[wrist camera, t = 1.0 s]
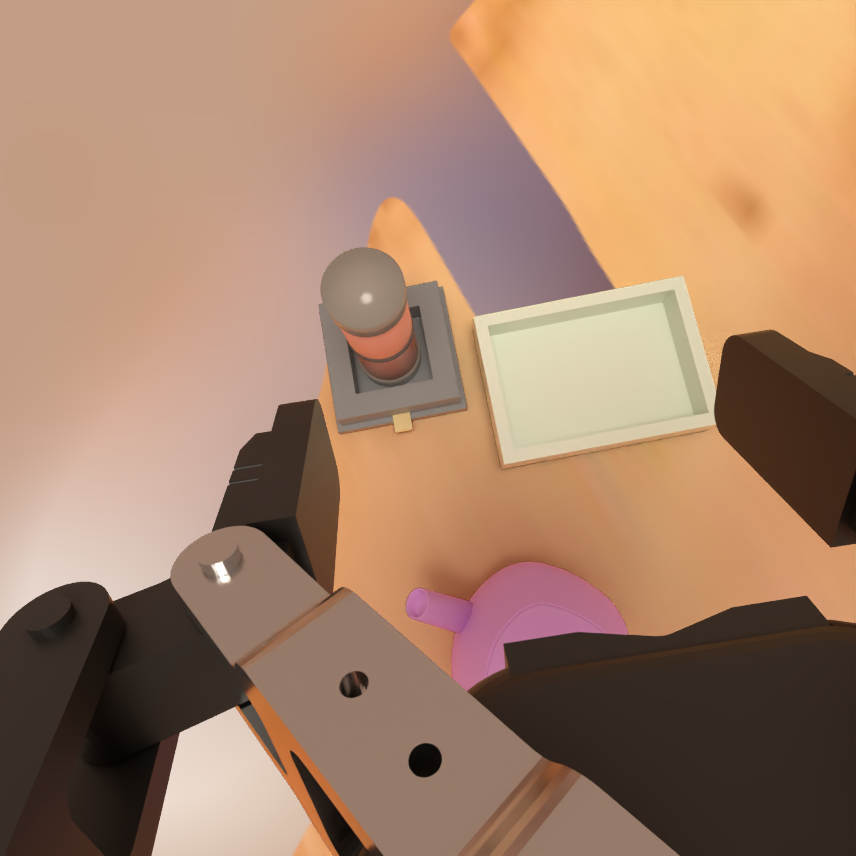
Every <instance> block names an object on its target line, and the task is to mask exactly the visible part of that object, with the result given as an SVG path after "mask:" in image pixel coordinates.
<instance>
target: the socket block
mask: <svg viewBox="0 0 856 856" xmlns="http://www.w3.org/2000/svg"><path fill="white" fill-rule="evenodd" d="M406 290H407V303H408V307H409V311H410V314H411V316H412V320H413V325H414V332H415V336H416V338H417V340H418V343H419V347H420V351H421V364H420V368H419V370H418V372H417V373H416V375H415V376H414V377H413V378H412V379H411V380H410V381H409V382H407V383H406V384H404V385H400V386H395V387H384V386H380V385H378V384H376V383H374V382H373V381H372V380H370V379H369V378H368V376H367V375H366V373H365V372H364V370H363V368H362V367H361V365H360V362H359V359H358V357H357V355H356V354H355V352H354V351H353V350H352V349H351V347H350V345H349V344H348V342H347V339H346V337H345V335H344V334H343V332H342V330H341V329H340V328H339V327H338V326H337V325H336V323H335V322H334V321H333V319H332V317H331V316H330V314H329V312H328V311H327V309H326V307H325V306H324V303H323V304H319V310H320V311H319V313H320V319H321V325H322V331H323V338H324V344H325V351H326V357H327V364H328V370H329V376H330V383H331V389H332V395H333V402H334V408H335V415H336V421H337V427H338V433H340V434H346V433H351V432H356V431H361V430H366V429H372V428H377V427H382V426H387V425H392V424H394V427H395V433H399V432H404V431H410V430H413V426H412V421H413V420H418V419H424V418H429V417H434V416H439V415H445V414H450V413H455V412H460V411H465V410H467V405H466V400H465V395H464V390H463V385H462V380H461V375H460V370H459V365H458V360H457V355H456V350H455V345H454V340H453V335H452V330H451V325H450V320H449V315H448V310H447V305H446V300H445V295H444V290H443V286H442V287H438V284H437V281H433V282H428V283H423V284H418V285H413V286H408V287H406Z"/></svg>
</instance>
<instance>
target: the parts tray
mask: <svg viewBox="0 0 856 856" xmlns="http://www.w3.org/2000/svg"><path fill="white" fill-rule="evenodd" d="M473 336H474V340H475V345H476V350H477V355H478V360H479V364H480V369H481V374H482V379H483V384H484V388H485V393H486V398H487V403H488V408H489V413H490V417H491V422H492V427H493V432H494V437H495V441H496V446H497V451H498V456H499V461H500V465H501V469H506V468H511V467H517V466H522V465H527V464H532V463H538V462H543V461H548V460H554V459H559V458H564V457H569V456H575V455H580V454H585V453H591V452H596V451H601V450H607V449H612V448H617V447H622V446H628V445H633V444H638V443H644V442H649V441H654V440H659V439H665V438H670V437H675V436H681V435H686V434H691V433H696V432H702V431H706V430H709V429H711V428H713V427H716V426H717V425H716V422H715V417H714V403H715V397H716V389H715V385H714V382H713V378H712V375H711V371H710V368H709V364H708V361H707V357H706V354H705V350H704V347H703V343H702V340H701V336H700V333H699V329H698V326H697V322H696V318H695V315H694V311H693V308H692V304H691V301H690V297H689V294H688V290H687V287H686V283H685V280H684V276H679V277H674V278H669V279H664V280H659V281H654V282H648V283H643V284H638V285H633V286H628V287H623V288H618V289H613V290H608V291H603V292H598V293H593V294H587V295H582V296H578V297H572V298H567V299H562V300H557V301H552V302H547V303H542V304H537V305H532V306H526V307H521V308H516V309H511V310H506V311H501V312H496V313H491V314H486V315H481V316H475V317H473Z"/></svg>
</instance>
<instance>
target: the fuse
mask: <svg viewBox="0 0 856 856" xmlns="http://www.w3.org/2000/svg"><path fill="white" fill-rule="evenodd" d="M321 297H322V301H323V303H324V306H325V307H326V309H327V311H328V312H329V314H330V316H331V317H332V319H333V321H334V322H335V323H336V325H337V326H338V327H339V328H340V329H341V330H342V332H343V334H344V335H345V337H346V339H347V342H348V344H349V345H350V347H351V349H352V350H353V351H354V352H355V354H356V355H357V357H358V359H359V362H360V365H361V367H362V368H363V370H364V372H365V373H366V375H367V376H368V378H369V379H370V380H372V381H373V382H374V383H376V384H378V385H380V386H384V387H395V386H400V385H404V384H406V383H407V382H409V381H410V380H411V379H412V378H413V377H414V376H415V375H416V373H417V372H418V370H419V368H420V364H421V351H420V347H419V343H418V340H417V338H416V336H415V332H414V325H413V320H412V316H411V314H410V311H409V307H408V303H407V290H406V286H405V281H404V277H403V273H402V271H401V269H400V267H399V265H398V264H397V263H396V261H395V260H394V259H393V258H392V257H391V256H389V255H388V254H386V253H384V252H383V251H380V250H377V249H374V248H355V249H351V250H349V251H346V252H344V253H342V254H340V255H339V256H338V257H336V258H335V259H334V260H333V261H332V262H331V263H330V265H329V266H328V267H327V269H326V270H325V272H324V275H323V277H322V282H321Z"/></svg>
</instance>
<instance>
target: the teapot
mask: <svg viewBox="0 0 856 856" xmlns="http://www.w3.org/2000/svg"><path fill="white" fill-rule="evenodd" d="M406 612H407V614H408V616H409V617H410V618H411V619H414V620H417V621H420V622H423V623H427V624H430V625H433V626H436V627H439V628H443V629H446V630H449V631H452V632H455V635H454V640H453V646H452V657H451V666H452V678H453V680H455V681H456V682H457V683H458V684H459V685H460V686H461V687H462V688H464V689H465V690H466V691H467V690H469V689H470V688H471V687H473V686H474V685H475V684H477V683H478V682H480V681H481V680H483V679H485V678H486V677H488V676H490V675H492V674H493V673H496V672H498V671H500V670H502V669H505V658H504V647H503V644H504V643H510V642H517V641H523V640H529V639H536V638H542V637H548V636H555V635H561V634H567V633H574V632H589V633H606V634H623V635H629V634H628V630H627V627H626V624H625V622H624V620H623V617H622V616H621V614H620V612H619V611H618V609H617V608H616V606H615V605H614V604H613V603H612V601H611V600H610V599H609V598H608V597H607V596H605V595H604V594H603V593H602V592H601V591H599V590H598V589H597V588H595V587H594V586H593V585H591V584H590V583H588V582H587V581H585V580H583V579H582V578H580V577H578V576H576V575H575V574H573V573H570V572H568V571H566V570H563V569H561V568H558V567H555V566H552V565H548V564H544V563H539V562H520V563H515V564H512V565H509V566H507V567H505V568H503V569H501V570H499V571H498V572H496V573H495V574H493V575H492V576H491V577H490V578H489V579H487V580H486V581H485V582H484V583H483V584H482V585H481V586H480V587H479V589H478V590H477V591H476V592H475V593H474V595H473V596H472V597H471V599H470V600H469V601H467V600H463V599H460V598H456V597H452V596H449V595H445V594H442V593H438V592H434V591H431V590H427V589H424V588H415V589H414V590H412V591H411V593H410V594H409V596H408V598H407V601H406Z"/></svg>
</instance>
